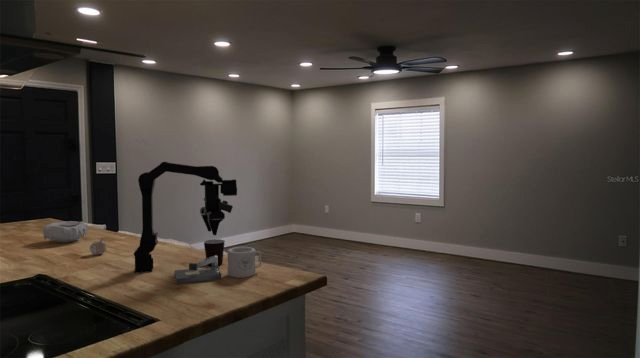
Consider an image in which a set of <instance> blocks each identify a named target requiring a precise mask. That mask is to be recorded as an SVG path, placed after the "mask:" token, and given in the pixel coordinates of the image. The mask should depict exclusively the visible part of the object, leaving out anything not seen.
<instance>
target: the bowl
mask: <svg viewBox="0 0 640 358" xmlns="http://www.w3.org/2000/svg"><path fill="white" fill-rule="evenodd" d="M42 232H43V239H44V241H45V240H47V239H48V240H50V241H53V242H56V243H69V242H70V243H71V242H73V241H77V240H79V239H81V238H83V237H86V236H87V235H88V224H86V223H85V222H84V221H72V220H69V221H68V220H66V221H60V222H55V221H54V222H51V223H49V224H47V225H44V226H43V231H42Z"/></svg>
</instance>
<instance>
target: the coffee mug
mask: <svg viewBox="0 0 640 358" xmlns="http://www.w3.org/2000/svg"><path fill="white" fill-rule="evenodd" d="M225 242H226V241H225V240H224V239H219V238H218V239H217V238H216V239H206V240H204V241H203V246H204V253H205V259H206V258H209V257H211V256H214V255H217V256H218V267H220V266H222V265H223V260H224V250H225ZM207 265H208V266H207ZM207 265H206V266H207V267H212V263H209V264H207Z"/></svg>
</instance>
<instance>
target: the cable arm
mask: <svg viewBox="0 0 640 358" xmlns="http://www.w3.org/2000/svg"><path fill="white" fill-rule="evenodd" d="M209 263H212V266H211V267H215V266H216V267H217V268H218V267H219V266H218V256H217V255H214V256H211V257H209V258H206V257H205V258H204V259H200V260H199V261H198V260H197V261H196V262H189V263H188V269H189V270H197V268H203V267H204V266H207V264H209Z"/></svg>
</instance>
